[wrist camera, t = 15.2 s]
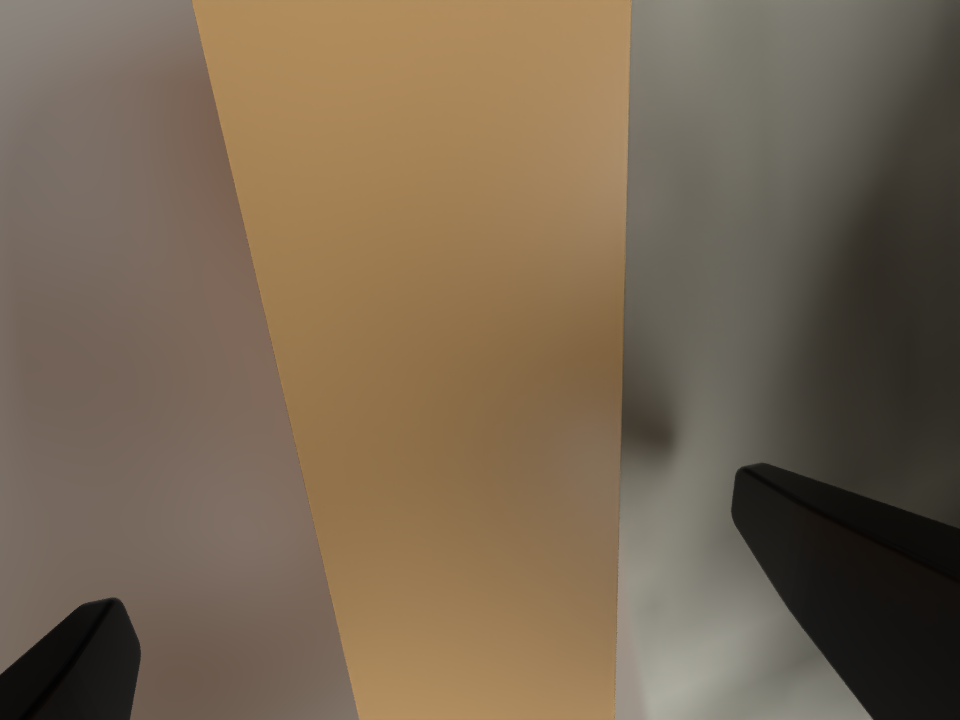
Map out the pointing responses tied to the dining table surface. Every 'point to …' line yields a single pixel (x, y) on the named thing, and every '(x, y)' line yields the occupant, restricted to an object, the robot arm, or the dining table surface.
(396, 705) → the plug
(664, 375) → the dining table surface
